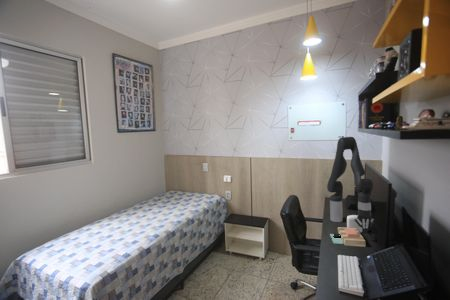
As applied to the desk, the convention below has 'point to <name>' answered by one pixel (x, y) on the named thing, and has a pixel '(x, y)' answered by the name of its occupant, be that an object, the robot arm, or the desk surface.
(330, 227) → the desk surface
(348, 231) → the card
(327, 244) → the desk surface
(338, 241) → the mat
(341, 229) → the deck
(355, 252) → the desk surface
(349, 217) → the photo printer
